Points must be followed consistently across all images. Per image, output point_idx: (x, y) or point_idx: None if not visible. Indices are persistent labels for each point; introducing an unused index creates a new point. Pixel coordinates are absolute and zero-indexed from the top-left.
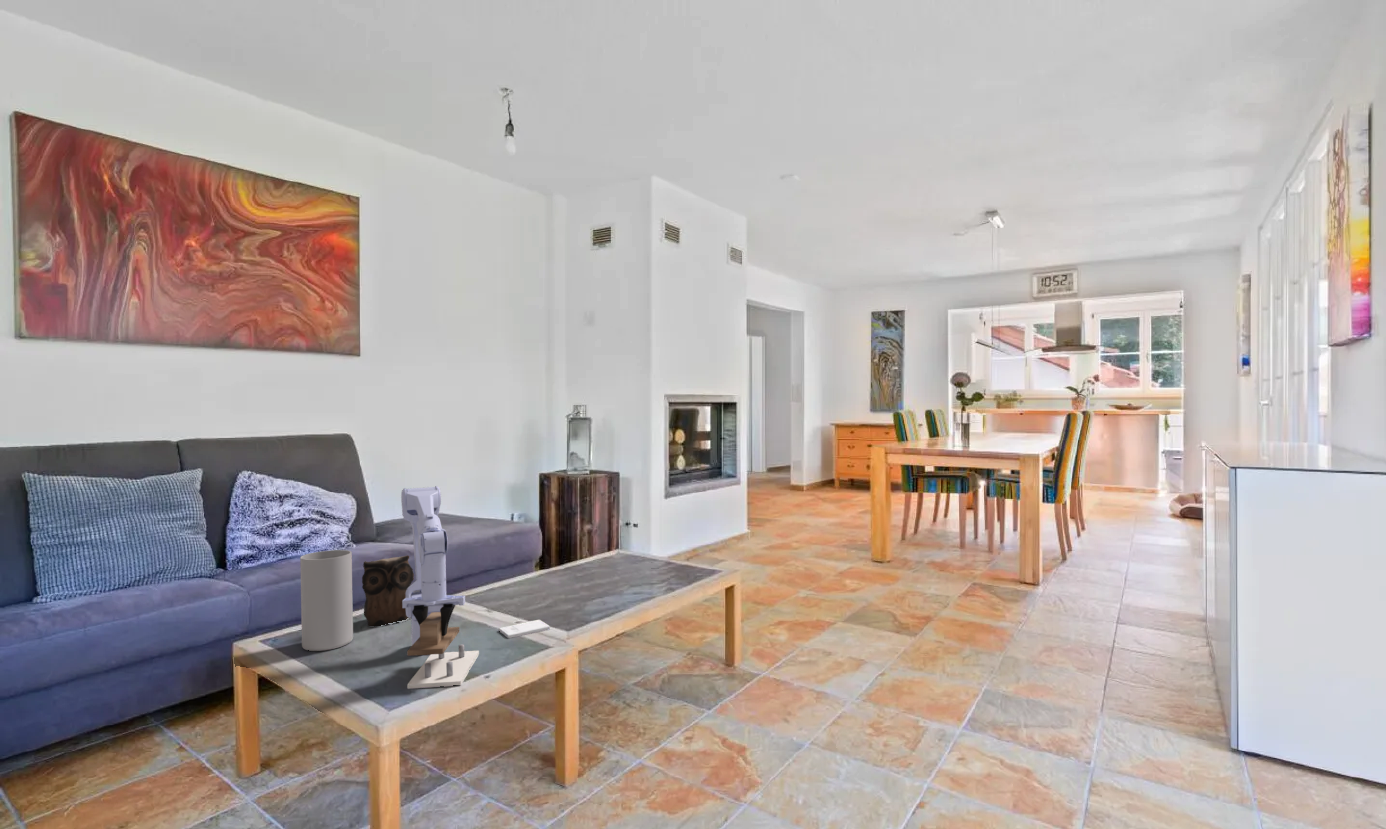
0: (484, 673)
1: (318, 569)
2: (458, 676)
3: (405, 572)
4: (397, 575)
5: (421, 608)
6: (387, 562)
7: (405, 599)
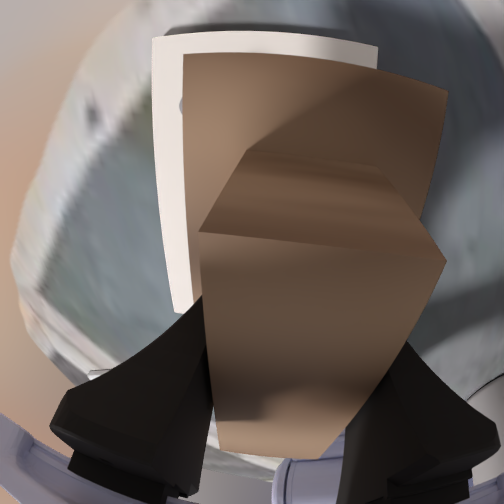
0: (108, 144)
1: None
2: (171, 84)
3: None
4: None
5: (410, 492)
6: None
7: None
